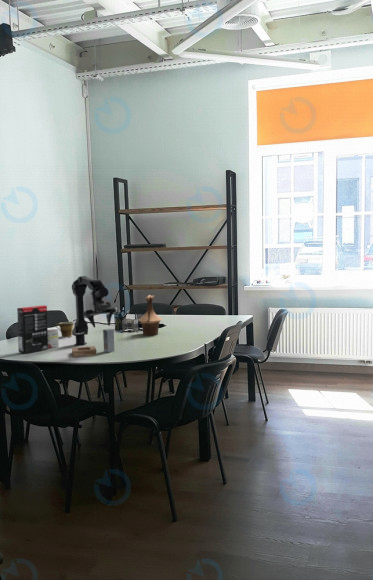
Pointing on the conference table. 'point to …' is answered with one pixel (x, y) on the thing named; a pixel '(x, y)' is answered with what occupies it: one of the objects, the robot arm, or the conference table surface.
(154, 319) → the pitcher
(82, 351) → the post foot
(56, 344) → the ink box
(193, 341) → the conference table surface
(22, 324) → the graphics card box
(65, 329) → the ceramic cup
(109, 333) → the grey rectangular block
